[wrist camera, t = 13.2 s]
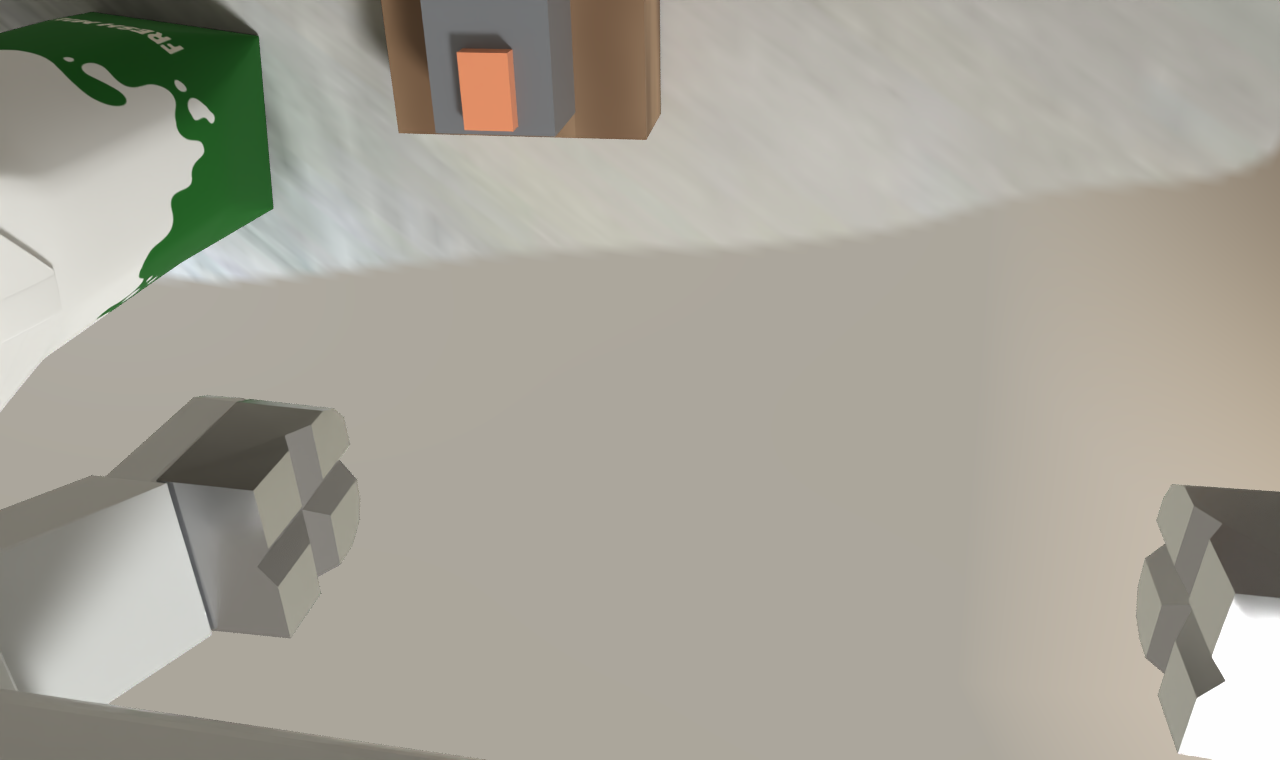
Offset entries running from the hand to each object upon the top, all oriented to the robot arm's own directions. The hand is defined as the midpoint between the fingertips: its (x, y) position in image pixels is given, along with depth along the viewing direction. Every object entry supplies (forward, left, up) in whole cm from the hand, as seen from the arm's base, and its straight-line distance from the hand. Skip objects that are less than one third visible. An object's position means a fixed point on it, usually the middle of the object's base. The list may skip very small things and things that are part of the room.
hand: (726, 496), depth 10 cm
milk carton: (+24, +4, -30) cm, 39 cm away
